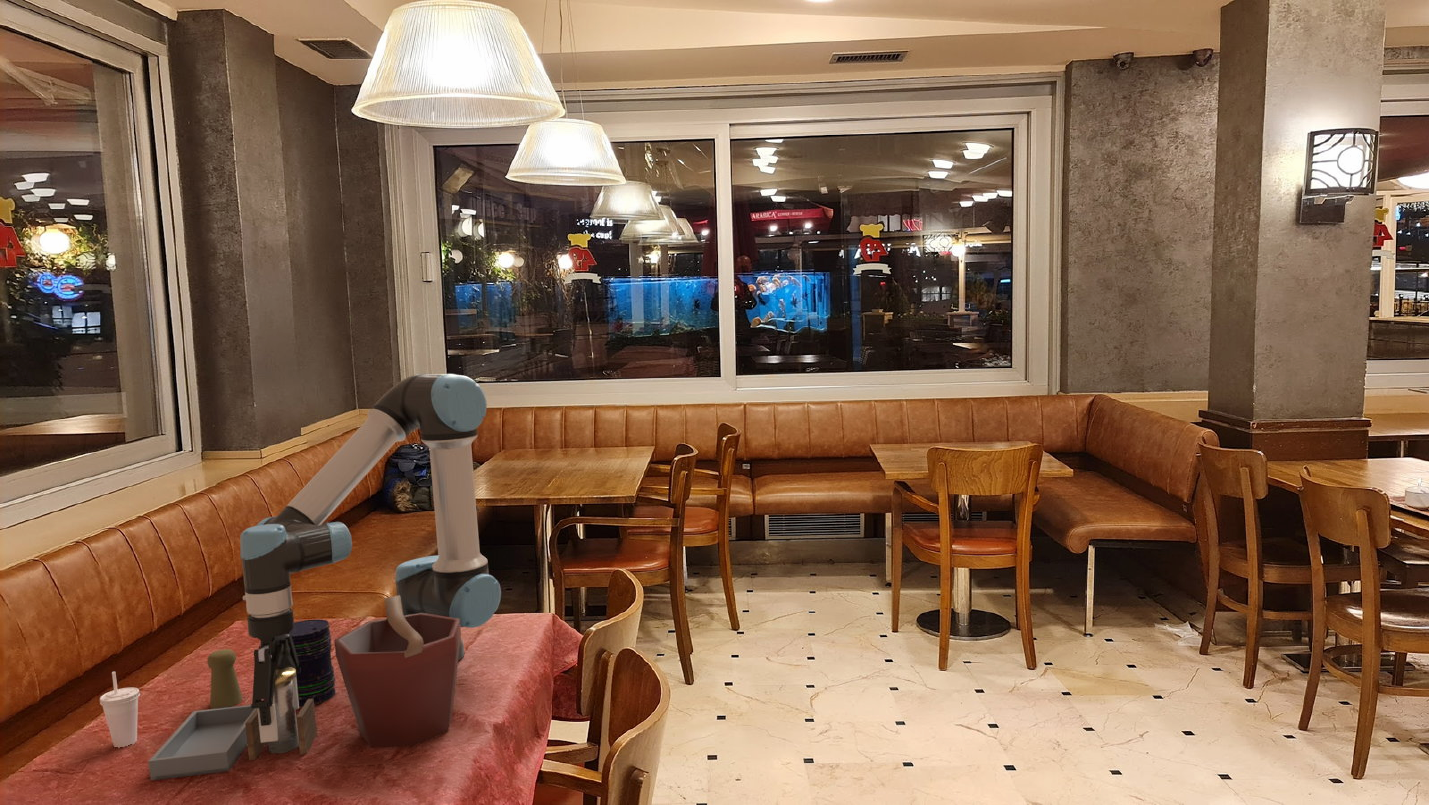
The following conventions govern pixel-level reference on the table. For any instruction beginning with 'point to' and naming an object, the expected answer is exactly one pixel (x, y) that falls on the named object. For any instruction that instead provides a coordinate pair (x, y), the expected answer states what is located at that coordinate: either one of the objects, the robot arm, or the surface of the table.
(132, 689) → the smoothie
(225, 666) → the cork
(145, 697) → the table surface
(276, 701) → the silver metal cylinder
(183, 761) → the tray
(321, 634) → the storage jar
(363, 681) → the bucket
